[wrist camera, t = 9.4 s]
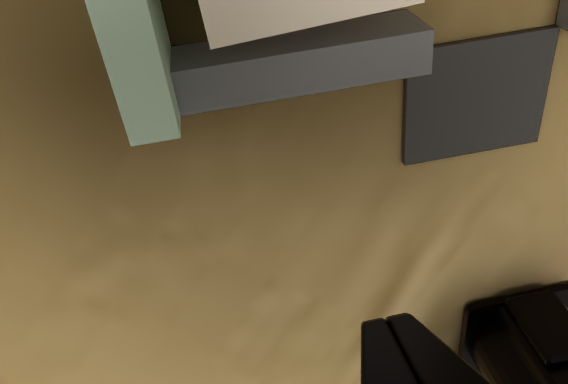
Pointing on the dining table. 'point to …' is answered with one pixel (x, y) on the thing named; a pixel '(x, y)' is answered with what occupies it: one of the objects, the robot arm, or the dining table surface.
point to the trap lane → (333, 75)
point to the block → (281, 16)
